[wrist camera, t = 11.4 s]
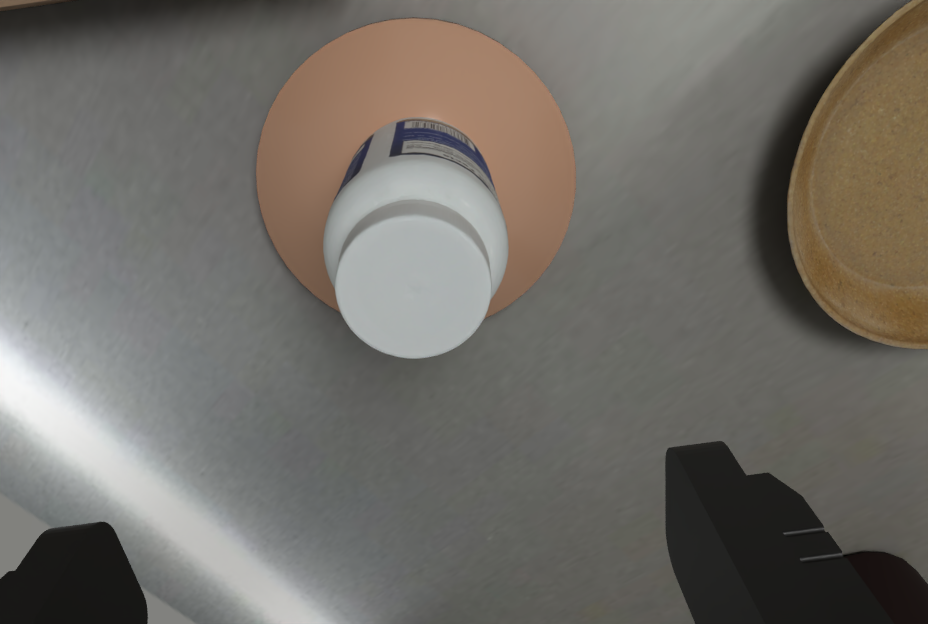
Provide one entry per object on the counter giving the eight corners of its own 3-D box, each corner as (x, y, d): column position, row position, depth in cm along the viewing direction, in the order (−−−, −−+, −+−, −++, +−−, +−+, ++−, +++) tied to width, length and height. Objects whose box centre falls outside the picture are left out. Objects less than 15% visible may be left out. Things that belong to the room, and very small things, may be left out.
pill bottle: (394, 276, 28) (376, 414, 19) (320, 158, 26) (262, 252, 17) (515, 214, 27) (555, 329, 18) (449, 86, 25) (458, 146, 16)
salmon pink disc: (302, 337, 30) (297, 350, 29) (226, 42, 25) (217, 45, 24) (578, 299, 30) (584, 312, 29) (559, -6, 25) (565, -5, 24)
